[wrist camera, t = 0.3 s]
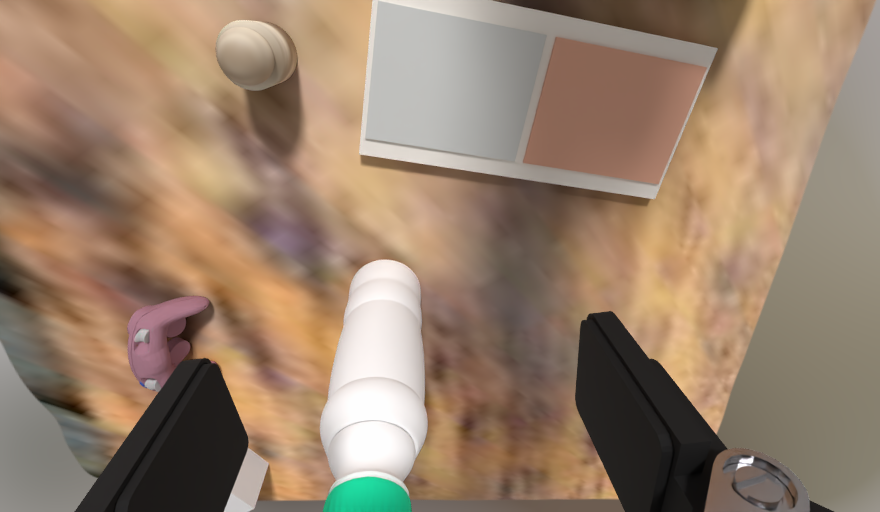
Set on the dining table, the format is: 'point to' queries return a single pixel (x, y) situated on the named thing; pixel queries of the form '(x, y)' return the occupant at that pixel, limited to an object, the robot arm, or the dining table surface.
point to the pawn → (255, 54)
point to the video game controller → (160, 339)
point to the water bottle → (376, 392)
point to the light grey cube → (247, 484)
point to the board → (527, 94)
